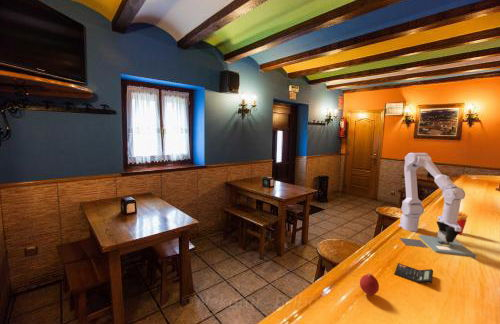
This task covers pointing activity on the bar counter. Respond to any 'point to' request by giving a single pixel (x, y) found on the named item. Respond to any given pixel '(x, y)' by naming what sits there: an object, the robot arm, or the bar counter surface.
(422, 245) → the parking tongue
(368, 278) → the onion
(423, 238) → the hole plate
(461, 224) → the french fries
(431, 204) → the bar counter surface
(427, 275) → the calculator
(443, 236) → the tan cubic block
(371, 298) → the bar counter surface
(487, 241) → the bar counter surface
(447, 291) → the bar counter surface
